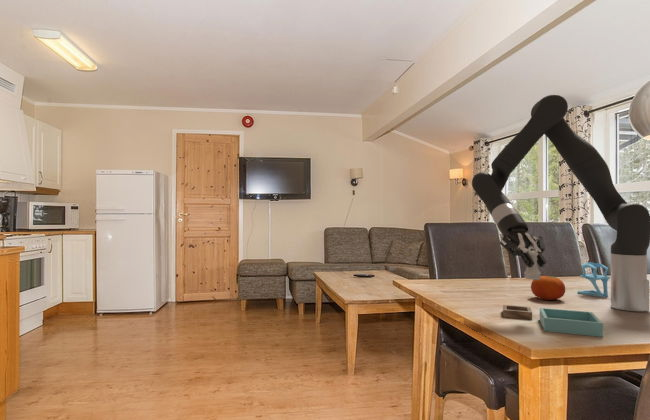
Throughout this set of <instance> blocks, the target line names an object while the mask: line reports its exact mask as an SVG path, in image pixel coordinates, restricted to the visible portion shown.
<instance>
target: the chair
mask: <svg viewBox="0 0 650 420" xmlns="http://www.w3.org/2000/svg"><path fill="white" fill-rule="evenodd" d="M581 268H582V274H580V278H583V279H586V280H588V281H589V282H590V283H591V284H592V286H593V287H594V289H593V290H592V289H591V290H589V289H587V290H577V292H576V293H577V294H579V295H586V296H592V297H598V298H604V297H605V298H608V297H609V293H608V292H609V291H608V290H609V289H608V281H609V280H611V276H608V271H609V267H607V266H606V265H605V264H602V263H600V262H599V263H598V262H596V263H595V262H591V261H588V262H585V263H583V264H582V265H581ZM586 268H587V269H588V268H590V269H591V270H592V273H590V274H586V273H587V271H586ZM598 268H603V269H604V272H603V275H600V274H598V273H597V271H598ZM600 280H601V282H602V289H603V292H602V291H601V289H600V288H599V286H598V283H597V281H600Z"/></svg>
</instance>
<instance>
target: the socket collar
mask: <svg viewBox="0 0 650 420" xmlns="http://www.w3.org/2000/svg"><path fill="white" fill-rule="evenodd" d="M502 317H503V318H512V319H522V320H523V319H524V320H533V311H532V308H531V306H523V305H512V304H511V305H510V304H509V305H508V304H502Z"/></svg>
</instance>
